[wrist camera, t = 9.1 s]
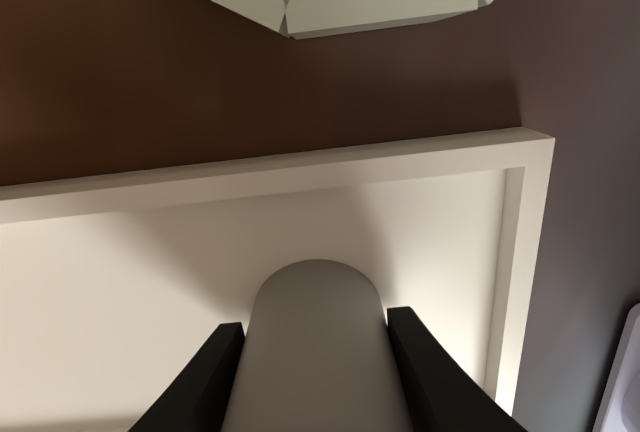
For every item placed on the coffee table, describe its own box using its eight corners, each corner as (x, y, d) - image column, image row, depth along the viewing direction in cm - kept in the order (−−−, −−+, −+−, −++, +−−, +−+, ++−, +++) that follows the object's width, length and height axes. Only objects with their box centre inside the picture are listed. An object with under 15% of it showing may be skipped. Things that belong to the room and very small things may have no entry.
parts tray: (523, 126, 9) (555, 137, 8) (491, 393, 13) (509, 429, 12) (-188, 207, 10) (-260, 229, 9) (-13, 434, 14) (-46, 471, 13)
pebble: (378, 252, 10) (427, 413, 6) (384, 355, 12) (426, 544, 7) (241, 266, 10) (180, 434, 6) (266, 366, 12) (234, 558, 7)
